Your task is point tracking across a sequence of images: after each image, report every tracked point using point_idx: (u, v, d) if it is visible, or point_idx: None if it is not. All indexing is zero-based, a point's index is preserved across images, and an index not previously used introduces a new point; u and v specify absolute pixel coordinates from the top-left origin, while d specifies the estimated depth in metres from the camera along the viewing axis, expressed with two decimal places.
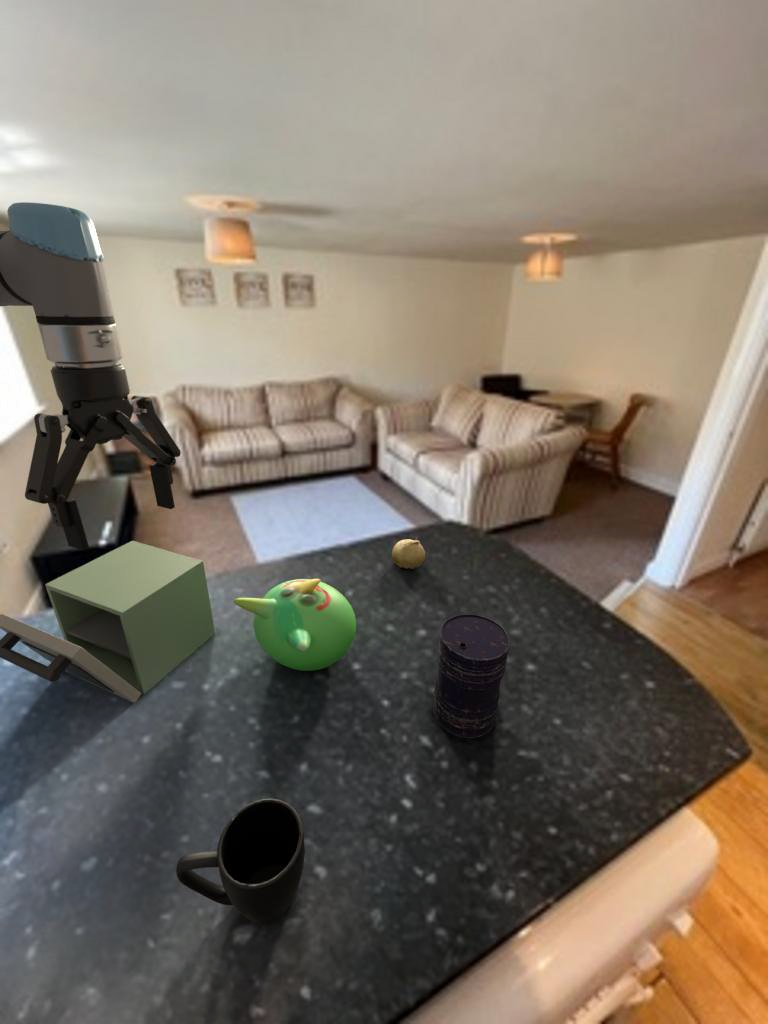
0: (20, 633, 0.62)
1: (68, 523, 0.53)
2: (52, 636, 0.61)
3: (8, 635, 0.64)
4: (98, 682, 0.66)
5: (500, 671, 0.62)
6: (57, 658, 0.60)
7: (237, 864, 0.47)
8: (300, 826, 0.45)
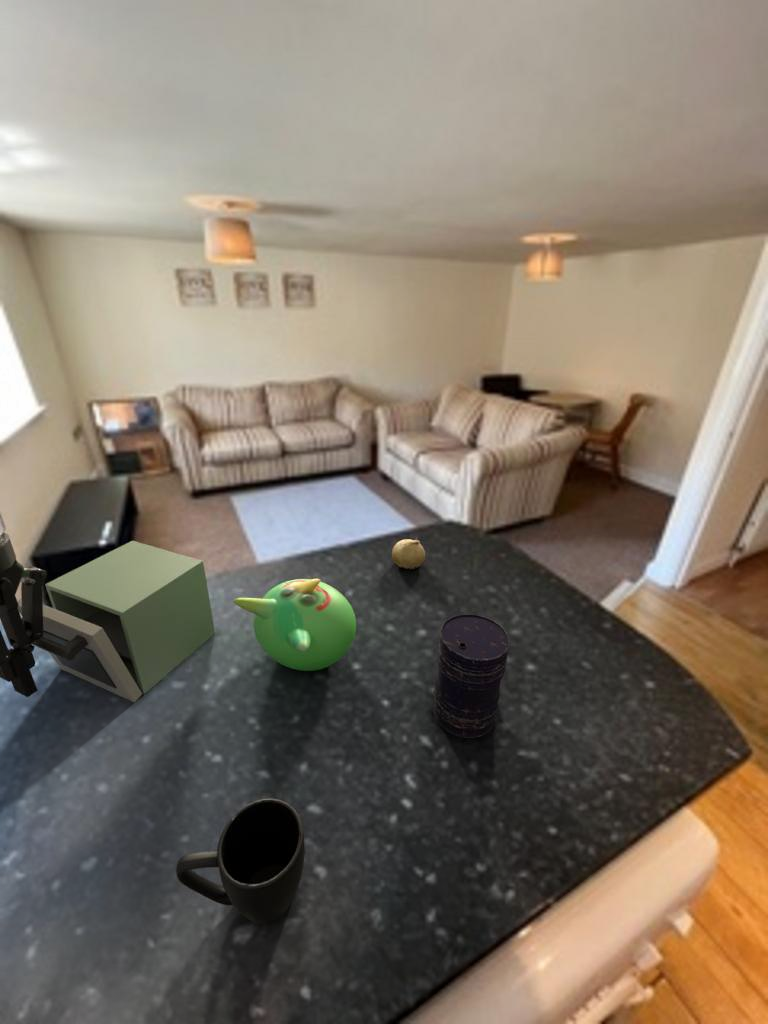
0: None
1: (12, 677, 0.60)
2: (73, 617, 0.64)
3: None
4: (105, 673, 0.67)
5: (500, 671, 0.62)
6: (75, 638, 0.62)
7: (237, 864, 0.47)
8: (300, 826, 0.45)
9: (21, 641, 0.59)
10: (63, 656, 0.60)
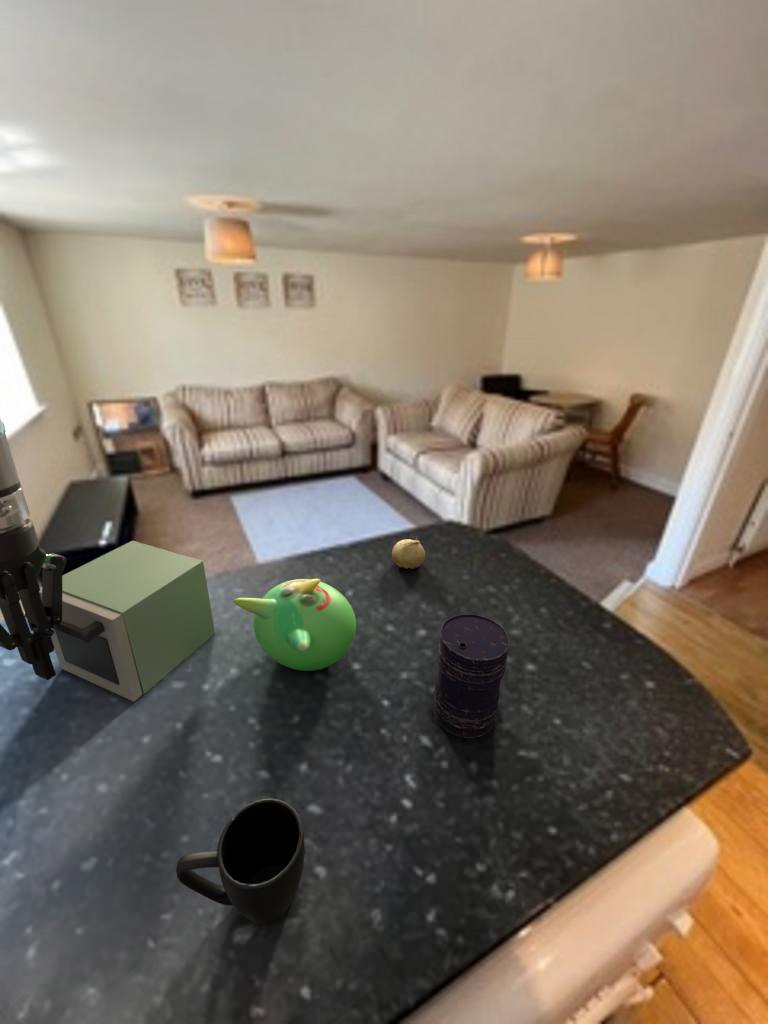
0: (62, 600, 0.67)
1: (34, 659, 0.61)
2: (94, 604, 0.66)
3: None
4: (112, 666, 0.68)
5: (500, 671, 0.62)
6: (94, 623, 0.64)
7: (237, 864, 0.47)
8: (300, 826, 0.45)
9: (41, 625, 0.61)
10: (81, 637, 0.62)
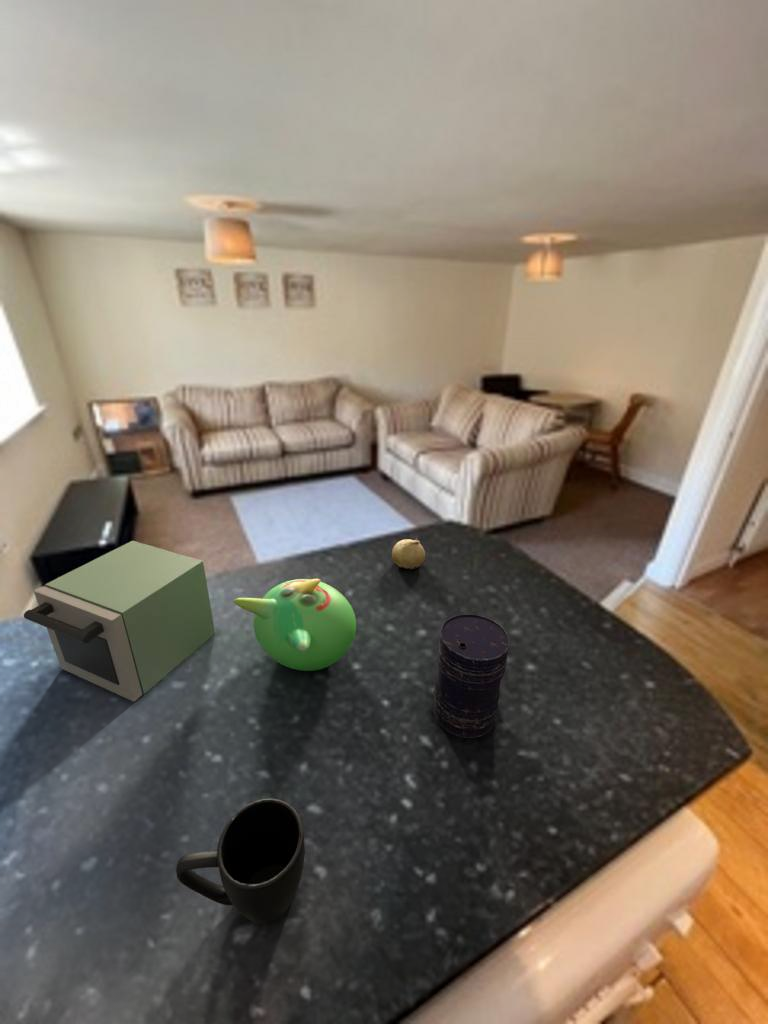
0: (61, 600, 0.67)
1: None
2: (93, 605, 0.66)
3: (45, 604, 0.68)
4: (111, 666, 0.68)
5: (500, 671, 0.62)
6: (93, 623, 0.64)
7: (237, 864, 0.47)
8: (300, 826, 0.45)
9: None
10: (80, 638, 0.62)
